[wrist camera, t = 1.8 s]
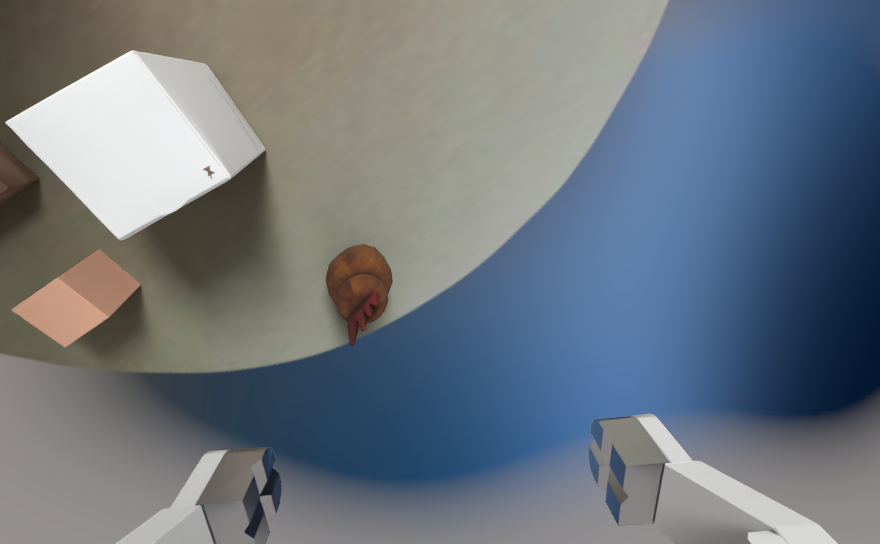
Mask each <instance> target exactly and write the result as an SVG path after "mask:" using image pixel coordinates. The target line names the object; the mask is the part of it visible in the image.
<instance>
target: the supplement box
mask: <svg viewBox="0 0 880 544" xmlns="http://www.w3.org/2000/svg"><path fill="white" fill-rule="evenodd" d="M6 124H7V125H8V126H9V127H10V128H11V129H12V130H13V131H14V132H15V133H16V134H17V135H18V136H19V137H20V138H21V139H22V140H23V142H24V143H25V144H26V145H27V146H28V147H29V148H30V149H31V150H32V151H33V152H34V153H35V154H36V155H37V156H38V157H39V158H40V159H41V160H42V161H43V162H44V163H45V164H46V165H47V166H48V167H49V168H50V169H51V170H52V171H53V172H54V173H55V174H56V175H57V176H58V177H59V178H60V179H61V180H62V181H63V182H64V183H65V184H66V185H67V186H68V187H69V188H70V189H71V190H72V192H73V193H74V194H75V195H76V196H77V197H78V198H79V199H80V200H81V201H82V202H83V203H84V204H85V205H86V206H87V207H88V208H89V210H90V211H91V212H92V213H93V214H94V215H95V216H96V217H97V218H98V219H99V220H100V221H101V222H102V223H103V224H104V225H105V226H106V227H107V228H108V229H109V230H110V231H111V232H112V233H113V234H114V235H115V236H116V238H117V239H118V240H124V239H126V238H128V237H130V236H132V235H133V234H135V233H137V232H139V231H140V230H142V229H144V228H146V227H147V226H149V225H151V224H153V223H154V222H156V221H158V220H160V219H162V218H163V217H165V216H167V215H169V214H170V213H173V212H175V211H176V210H178V209H180V208H181V207H183V206H185V205H186V204H188V203H190V202H192V201H193V200H195V199H197V198H199V197H200V196H202V195H204V194H206V193H208V192H209V191H211V190H213V189H215V188H216V187H218V186H220V185H222V184H223V183H225V182H227V181H229V180H230V179H231V178H233V177H234V176H235V175H236V174H238V173H239V172H240V171H241V170H242V169H244V168H245V167H246V166H247V165H248V164H250V163H251V162H252V161H253V160H254V159H256V158H257V157H258V156H259V155H260V154H262V153H263V152H264V151H265V147H264V146H263V144H262V143H261V142H260V140H259V139H258V137H257V136H256V134H255V133H254V131H253V130H252V129H251V127H250V126H249V124H248V123H247V121H246V120H245V118H244V117H243V116H242V114H241V113H240V111H239V110H238V108H237V107H236V105H235V104H234V103H233V101H232V100H231V98H230V97H229V95H228V94H227V92H226V91H225V89H224V88H223V87H222V85H221V84H220V82H219V81H218V79H217V78H216V76H215V75H214V74H213V72H212V71H211V70H210V68H209V67H208V66H207V65H206V64H205V63H199V62H193V61H188V60H182V59H177V58H171V57H166V56H160V55H155V54H149V53H144V52H138V51H133V50H132V51H130V52H128V53H126V54H124V55H123V56H121V57H119V58H117V59H115V60H114V61H112V62H110V63H108V64H107V65H105V66H103V67H101V68H99V69H98V70H96V71H94V72H92V73H90V74H89V75H87V76H85V77H83V78H82V79H80V80H78V81H76V82H74V83H73V84H71V85H69V86H67V87H65V88H64V89H62V90H60V91H58V92H57V93H55V94H53V95H51V96H50V97H48V98H46V99H44V100H43V101H41V102H39V103H37V104H35V105H34V106H32V107H30V108H28V109H27V110H25V111H23V112H22V113H20V114H18V115H16V116H15V117H13V118H11V119H10V120H8V121H6Z"/></svg>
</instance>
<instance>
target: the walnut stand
mask: <svg viewBox="0 0 880 544" xmlns="http://www.w3.org/2000/svg"><path fill="white" fill-rule="evenodd" d="M38 179H39V177H37V176H36V175H35V174H34V173H33V172H32V171H31V170H29V169H28V168H27V167H26V166H25V165H24V164H23V163H21V162H20V161H19V160H18V159H17V158H16V157H15V156H13V155H12V154H11V153H10V152H9V151H8V150H7V149H5V148H4V147H3V146H2V145H1V144H0V206H1V205H2V204H4V203H5V202H7V201H8V200H9V199H11V198H12V197H14V196H15V195H16V194H18V193H19V192H21V191H22V190H24V189H25V188H26V187H28V186H29V185H31V184H32V183H33V182H35V181H36V180H38Z"/></svg>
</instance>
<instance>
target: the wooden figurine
mask: <svg viewBox="0 0 880 544" xmlns="http://www.w3.org/2000/svg"><path fill="white" fill-rule="evenodd" d="M326 283H327V287H328V292H329V295H330V296H331V298H332V299H333V301H334V303H335V304H336V305H337V307H338V311H339V313H340V314H341V316H342V317H343V319H344V320H346V321H348V331H349V339H350V345H351V346H353V345H354V343H355V339H356V335H357V331H358V327H359V326H360V328H361V330H362V331H364V330H365V327H366V324H367V323H370V322H373V321H375V320H376V319H378V318H379V317H380V316H381V315H382V313H383V312H384V311H385V308H386V305H387V302H388V292H389V290H390V287H391V284H392V273H391V269H390V267H389V265H388V263H387V262H386V260H385V258H384V257H383V255H382V254H381V253H380V252H379V251H378V250H377V249H376V248H375V247H371V246H368V245H365V244H363V245H357V246H353V247H350V248H348V249H346V250H345V251H343V252H342V253H340V254H339V255H338V256H337V257H336V258H335V259H334V260H333V261H332V262H331V263H330V264H329V267H328V271H327V276H326Z"/></svg>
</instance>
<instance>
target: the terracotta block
mask: <svg viewBox="0 0 880 544" xmlns="http://www.w3.org/2000/svg"><path fill="white" fill-rule="evenodd" d="M140 285H141V284H140V283H139V282H137V281H136V280H135V279H134V278H133V277H132V276H130V275H129V274H128V273H127V272H126V271H124V270H123V269H122V268H121V267H120V266H119V265H117V264H116V263H115V262H114V261H113V260H112V259H110V258H109V257H108V256H107V255H106V254H105V253H103V252H102V251H101V250H100V249H98V250H97V251H95V252H94V253H93V254H91V255H90V256H88V257H87V258H85V259H84V260H82V261H81V262H79V263H78V264H76V265H75V266H74V267H72V268H71V269H69V270H68V271H66V272H65V273H63V274H62V275H60V276H59V277H58V278H56V279H55V280H53V281H52V282H50V283H49V284H47V285H46V286H45V287H43V288H42V289H40V290H39V291H37V292H36V293H35V294H33V295H32V296H30V297H29V298H27V299H26V300H24V301H23V302H22V303H20V304H19V305H17V306H16V307H14V308H13V309H12V311H13V312H15V313H16V314H18V315H19V316H21V317H22V318H23V319H25V320H26V321H28V322H29V323H31V324H32V325H33V326H35V327H36V328H38V329H39V330H41V331H42V332H44V333H45V334H46V335H48V336H49V337H51V338H52V339H54V340H55V341H56V342H58V343H59V344H61V345H62V346H64V347H66V346H68V345H69V344H71V343H72V342H74V341H75V340H77V339H78V338H80V337H81V336H82V335H84V334H85V333H87V332H88V331H90V330H91V329H93V328H94V327H96V326H97V325H98V324H100V323H101V322H103V321H104V320H106V319H107V318H109V317H110V316H111V315H112V314H113V313H114V312H115V311H116V310H117V309H118V308H119V307H120V306H121V305H122V304H123V302H124V301H125V300H126V299H127V298H128V297H129V296H130V295H131V294H132V293H133V292H134V291H135V290H136V289H137V288H138V287H139V286H140Z"/></svg>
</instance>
